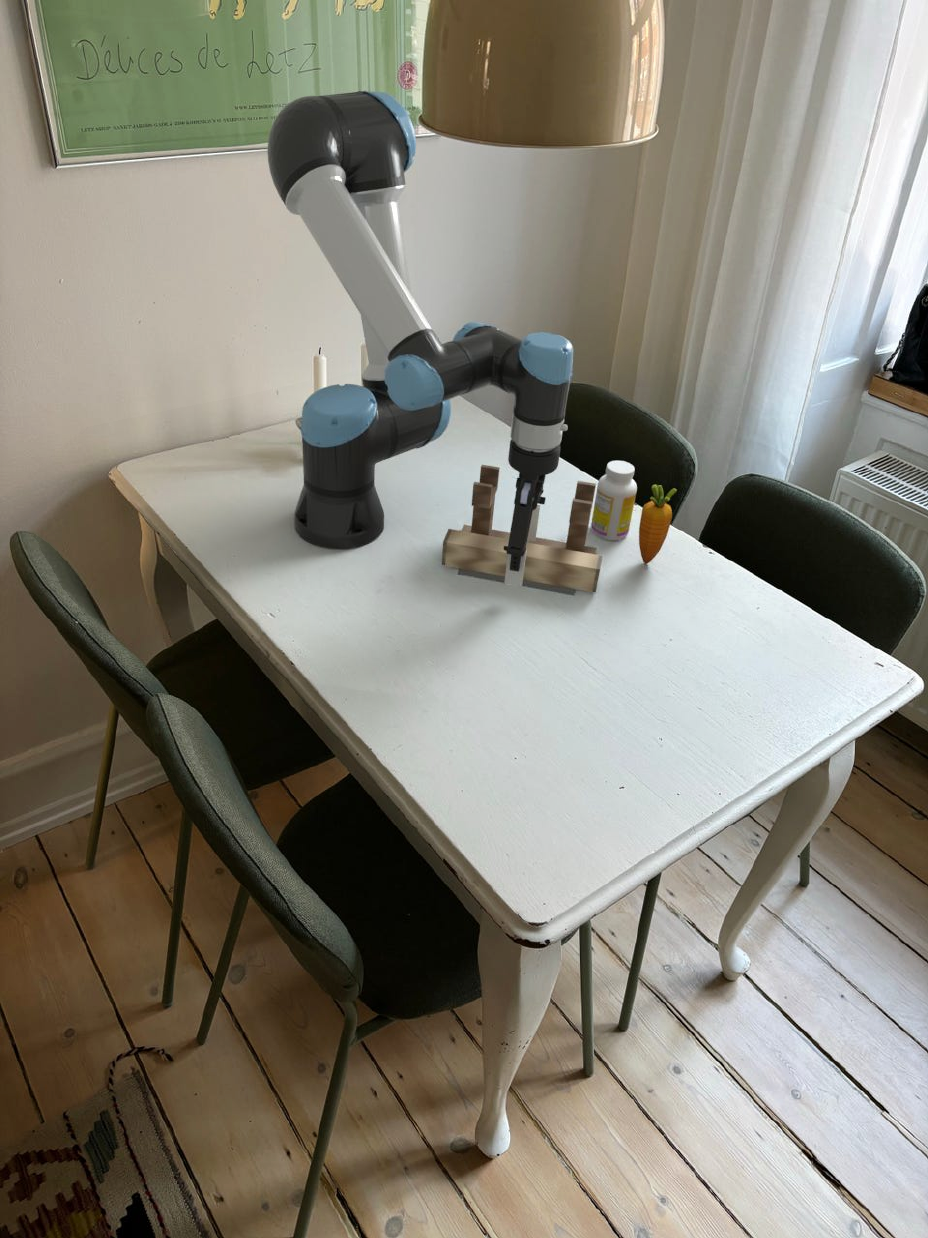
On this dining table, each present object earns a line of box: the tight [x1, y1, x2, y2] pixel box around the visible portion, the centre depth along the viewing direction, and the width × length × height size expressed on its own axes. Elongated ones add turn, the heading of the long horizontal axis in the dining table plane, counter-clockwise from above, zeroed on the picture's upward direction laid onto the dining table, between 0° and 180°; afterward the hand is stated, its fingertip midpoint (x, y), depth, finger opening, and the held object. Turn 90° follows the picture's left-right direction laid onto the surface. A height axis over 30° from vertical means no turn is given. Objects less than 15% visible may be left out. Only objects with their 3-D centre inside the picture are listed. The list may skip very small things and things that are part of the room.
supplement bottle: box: [590, 460, 638, 542], centre depth 167 cm, size 7×7×13 cm
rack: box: [460, 464, 598, 555], centre depth 160 cm, size 23×7×12 cm, turn 78°
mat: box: [457, 568, 577, 596], centre depth 158 cm, size 19×6×1 cm, turn 78°
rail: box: [441, 528, 604, 593], centre depth 156 cm, size 25×4×4 cm, turn 78°
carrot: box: [638, 484, 678, 565], centre depth 159 cm, size 5×5×15 cm
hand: (520, 561), depth 156 cm, fingers open, 13 cm apart
